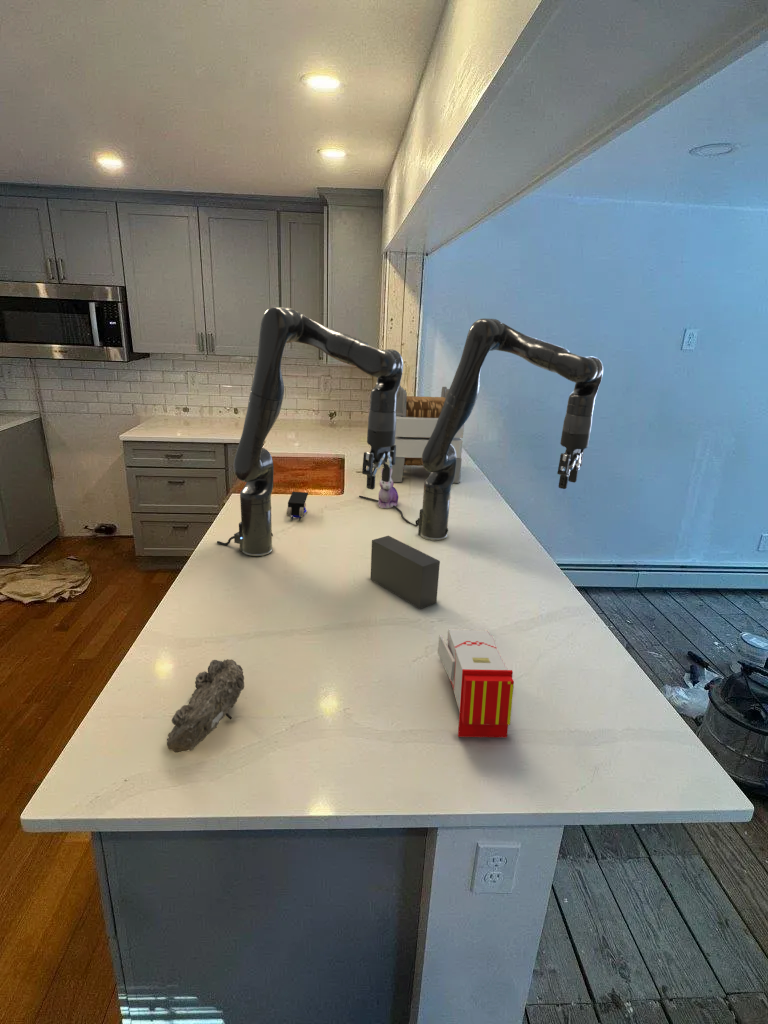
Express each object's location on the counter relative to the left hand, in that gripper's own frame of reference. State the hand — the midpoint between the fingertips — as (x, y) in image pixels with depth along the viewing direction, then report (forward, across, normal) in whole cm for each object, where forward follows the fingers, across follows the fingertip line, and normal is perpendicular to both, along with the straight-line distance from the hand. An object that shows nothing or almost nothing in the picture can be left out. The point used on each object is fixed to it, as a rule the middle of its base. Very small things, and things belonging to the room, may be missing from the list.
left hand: (378, 484), depth 157 cm
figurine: (+29, -60, -27) cm, 72 cm away
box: (+28, +2, +11) cm, 31 cm away
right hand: (-1, -34, +44) cm, 56 cm away
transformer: (+29, -111, -37) cm, 120 cm away
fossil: (+29, +68, +4) cm, 74 cm away
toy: (+28, +35, +44) cm, 62 cm away
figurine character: (+30, -29, -49) cm, 64 cm away
